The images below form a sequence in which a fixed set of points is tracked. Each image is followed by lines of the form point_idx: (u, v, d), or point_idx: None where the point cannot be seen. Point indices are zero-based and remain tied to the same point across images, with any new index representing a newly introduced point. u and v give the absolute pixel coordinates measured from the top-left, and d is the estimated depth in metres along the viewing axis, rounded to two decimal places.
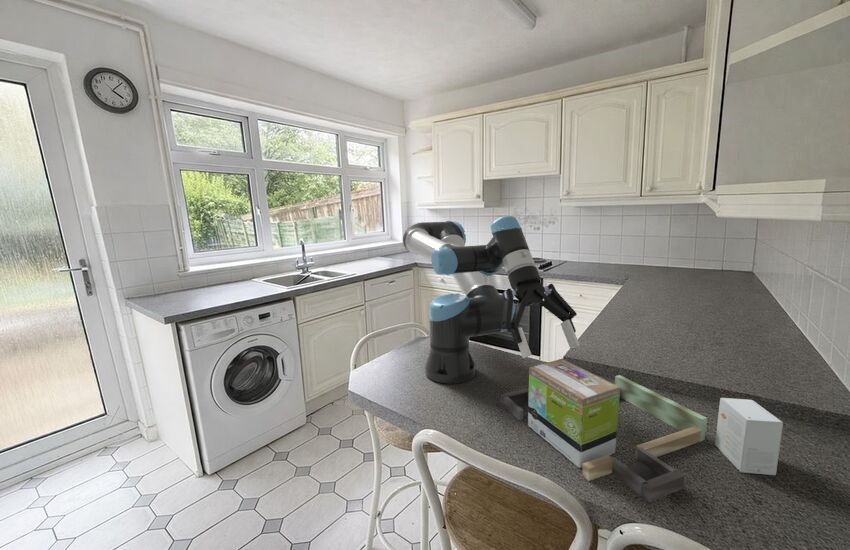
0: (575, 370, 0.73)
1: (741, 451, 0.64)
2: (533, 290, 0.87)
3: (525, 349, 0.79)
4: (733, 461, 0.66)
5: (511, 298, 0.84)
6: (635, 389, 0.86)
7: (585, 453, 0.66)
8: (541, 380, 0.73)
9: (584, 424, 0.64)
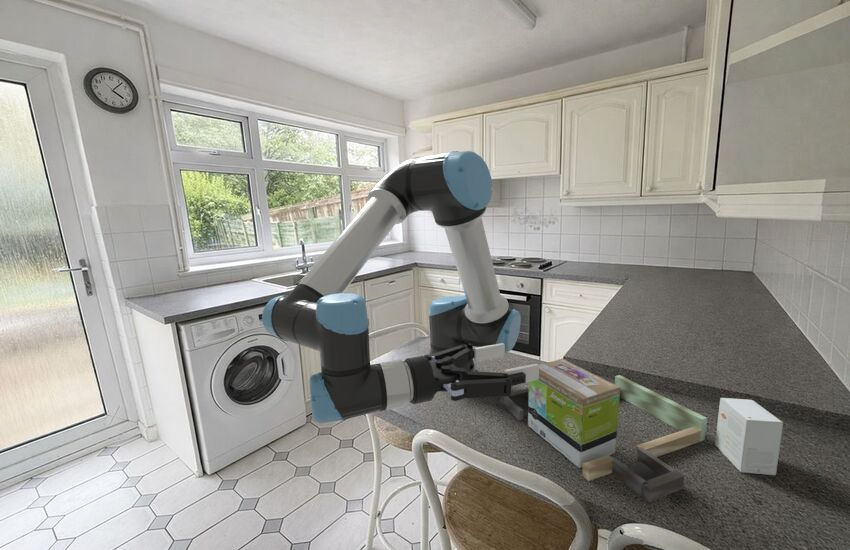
0: (575, 370, 0.73)
1: (740, 451, 0.64)
2: None
3: None
4: (733, 461, 0.66)
5: None
6: (635, 389, 0.86)
7: (585, 453, 0.66)
8: (541, 380, 0.73)
9: (584, 424, 0.64)
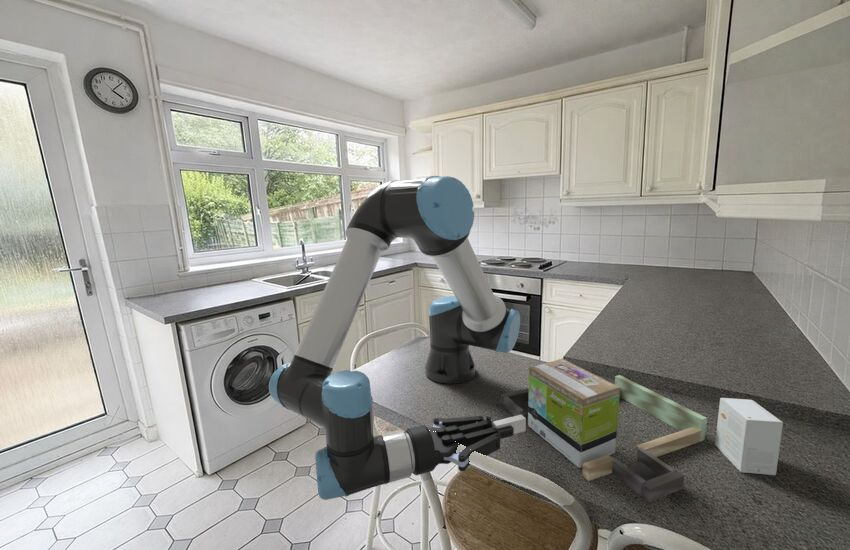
0: (575, 370, 0.73)
1: (740, 451, 0.64)
2: None
3: None
4: (733, 461, 0.66)
5: None
6: (635, 389, 0.86)
7: (585, 453, 0.66)
8: (541, 380, 0.73)
9: (584, 424, 0.64)
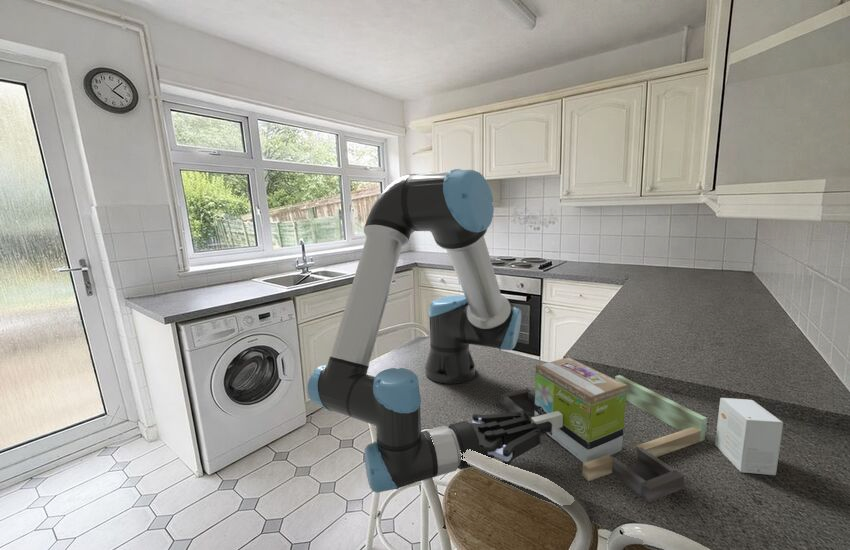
0: (581, 368, 0.74)
1: (740, 451, 0.64)
2: None
3: None
4: (733, 461, 0.66)
5: None
6: (635, 389, 0.86)
7: (592, 451, 0.66)
8: (548, 378, 0.73)
9: (591, 421, 0.65)
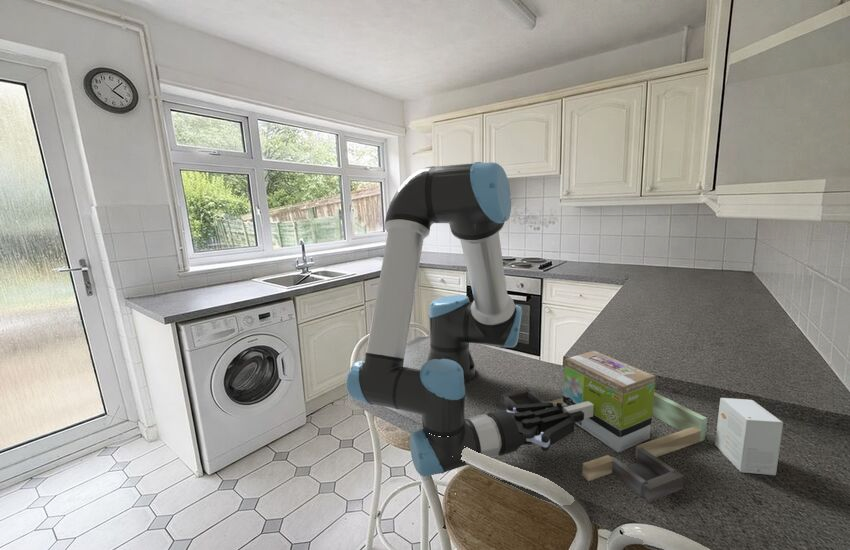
0: (610, 361, 0.77)
1: (740, 451, 0.64)
2: None
3: None
4: (733, 461, 0.66)
5: None
6: None
7: (623, 438, 0.69)
8: (578, 370, 0.77)
9: (623, 410, 0.68)
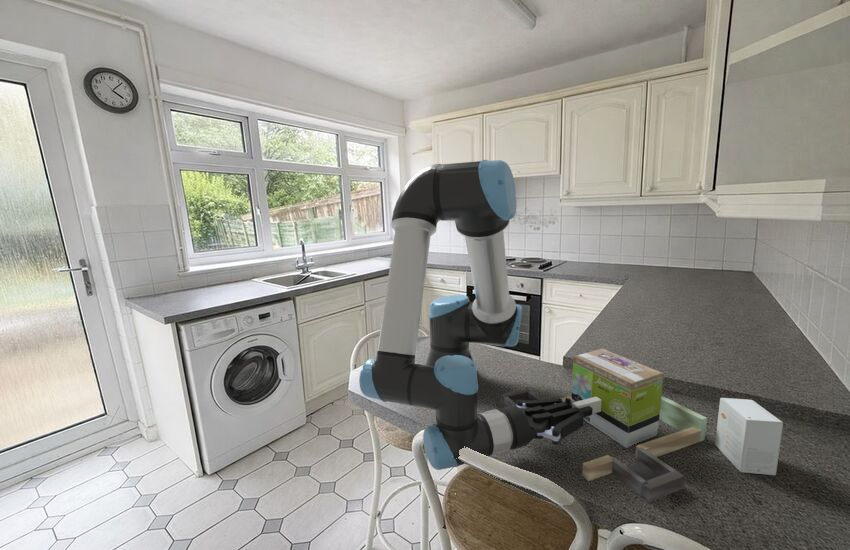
0: (618, 358, 0.79)
1: (740, 451, 0.64)
2: None
3: None
4: (733, 461, 0.66)
5: None
6: None
7: (632, 434, 0.71)
8: (586, 368, 0.78)
9: (632, 407, 0.69)
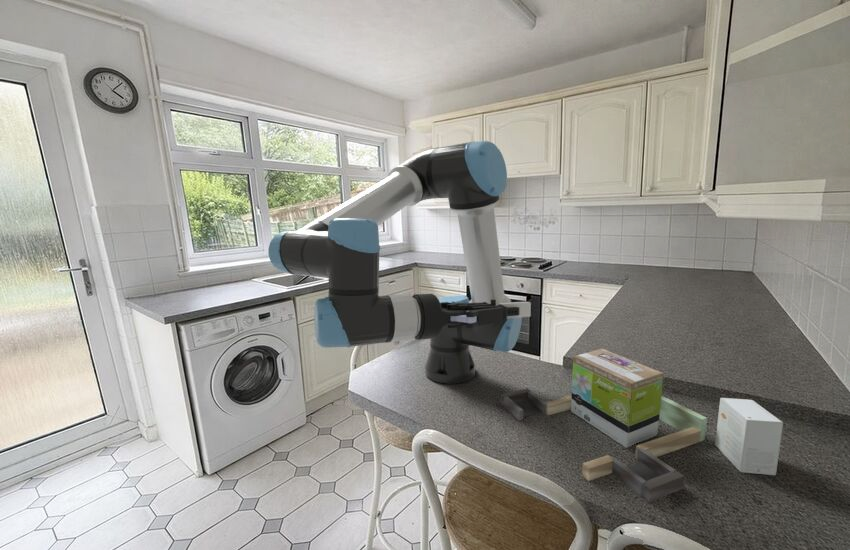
0: (618, 358, 0.79)
1: (740, 451, 0.64)
2: None
3: None
4: (733, 461, 0.66)
5: None
6: None
7: (632, 434, 0.71)
8: (586, 368, 0.78)
9: (631, 406, 0.69)
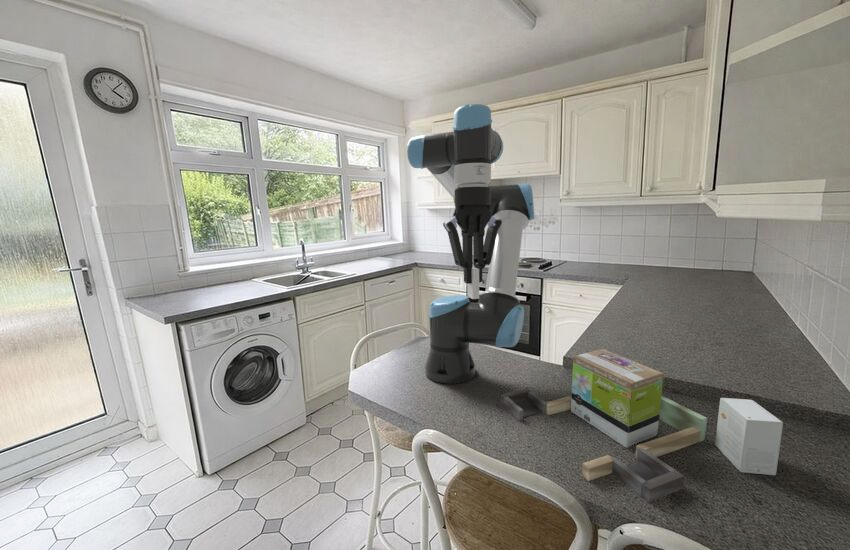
0: (618, 358, 0.79)
1: (740, 451, 0.64)
2: (479, 207, 0.73)
3: (472, 292, 0.76)
4: (733, 461, 0.66)
5: (455, 232, 0.72)
6: None
7: (632, 434, 0.71)
8: (586, 368, 0.78)
9: (632, 407, 0.69)
